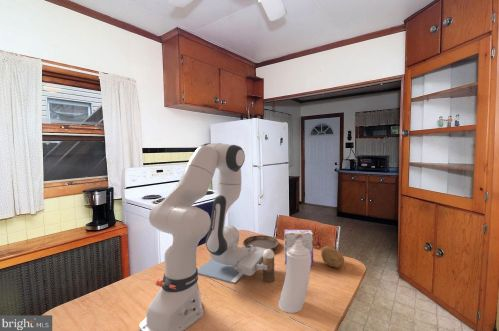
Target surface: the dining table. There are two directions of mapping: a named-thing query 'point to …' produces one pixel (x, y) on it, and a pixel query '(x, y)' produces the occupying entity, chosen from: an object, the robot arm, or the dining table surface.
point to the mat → (220, 271)
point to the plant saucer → (261, 242)
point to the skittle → (269, 260)
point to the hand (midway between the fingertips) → (270, 264)
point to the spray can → (295, 278)
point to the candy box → (299, 235)
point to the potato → (332, 257)
